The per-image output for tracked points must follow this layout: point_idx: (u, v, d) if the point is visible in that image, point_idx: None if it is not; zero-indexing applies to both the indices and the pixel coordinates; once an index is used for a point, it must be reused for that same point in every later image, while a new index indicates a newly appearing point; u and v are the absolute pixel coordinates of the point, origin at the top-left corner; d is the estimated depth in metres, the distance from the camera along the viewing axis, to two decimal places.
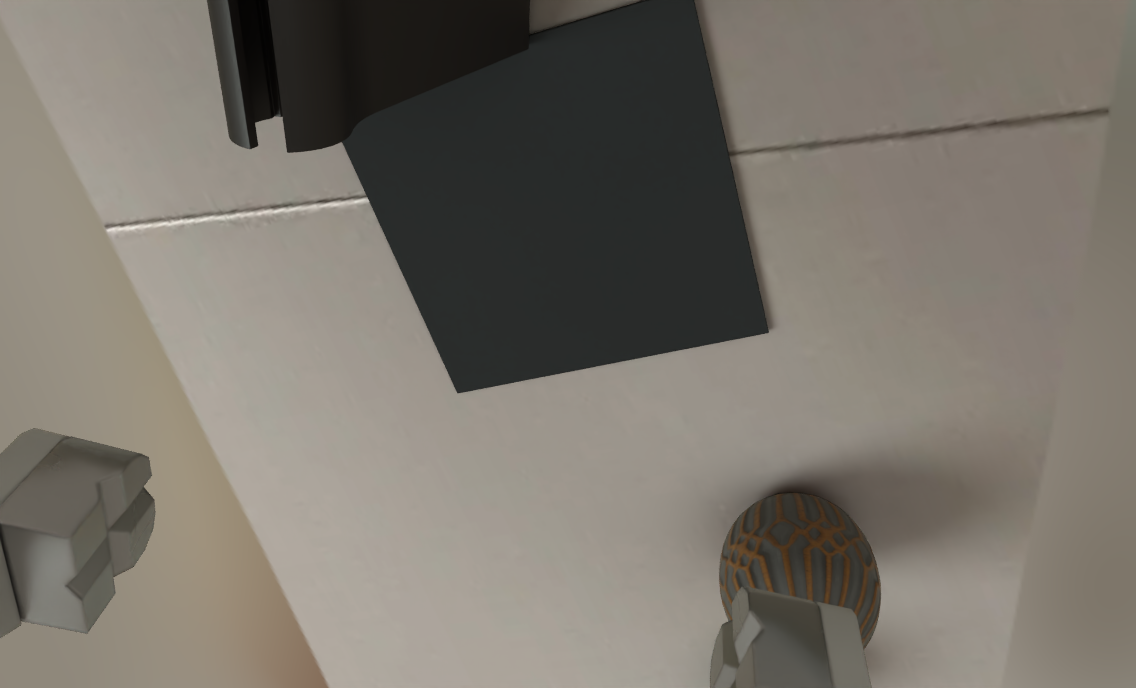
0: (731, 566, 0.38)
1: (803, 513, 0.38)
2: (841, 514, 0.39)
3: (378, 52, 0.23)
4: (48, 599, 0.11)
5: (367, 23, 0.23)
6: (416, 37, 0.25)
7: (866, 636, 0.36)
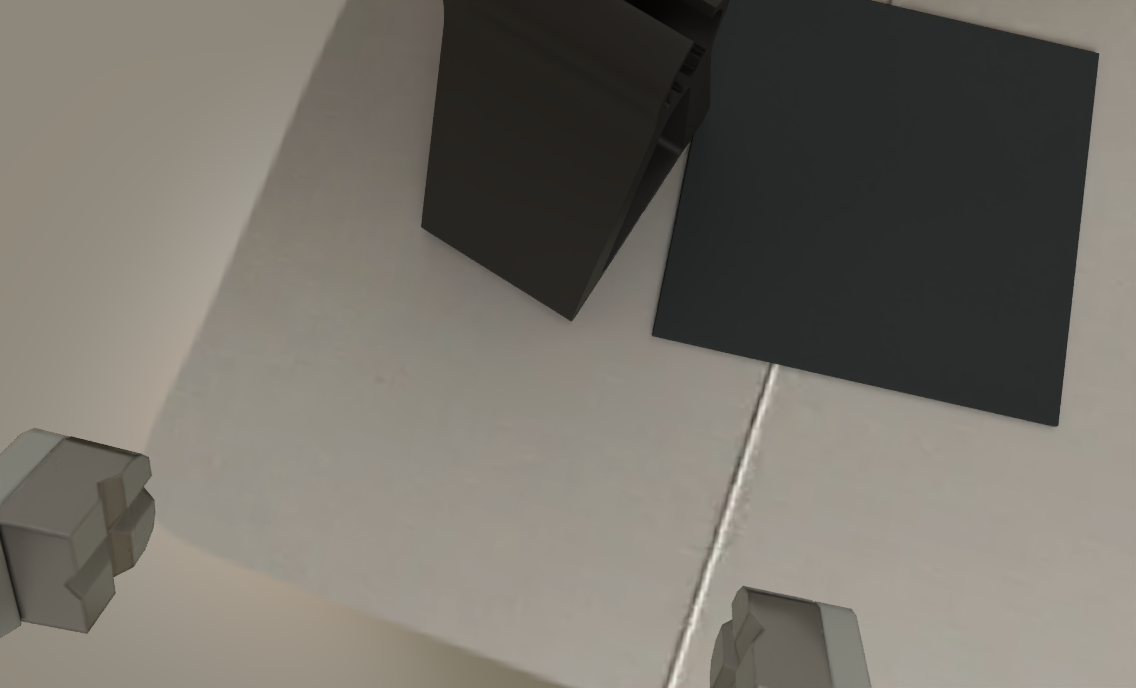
0: None
1: None
2: None
3: None
4: (48, 599, 0.11)
5: None
6: None
7: None
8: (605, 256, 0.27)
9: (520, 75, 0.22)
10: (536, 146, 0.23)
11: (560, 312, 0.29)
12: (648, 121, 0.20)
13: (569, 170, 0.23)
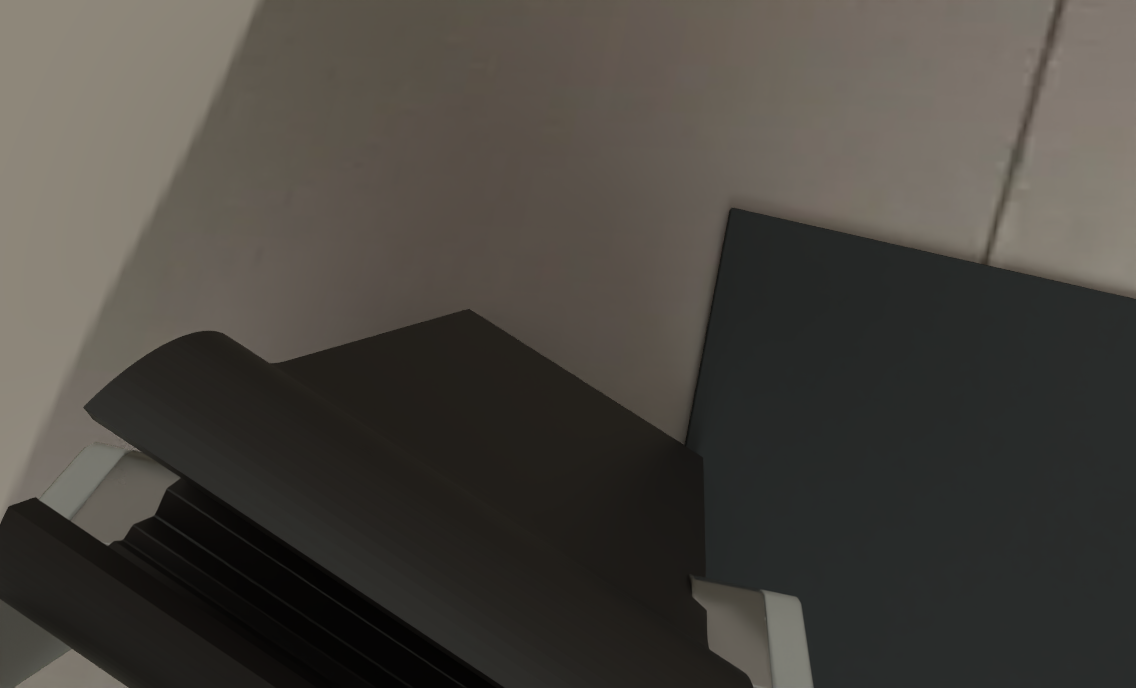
0: None
1: None
2: None
3: (597, 552, 0.11)
4: None
5: (536, 525, 0.10)
6: (607, 506, 0.12)
7: None
8: None
9: None
10: None
11: None
12: None
13: None
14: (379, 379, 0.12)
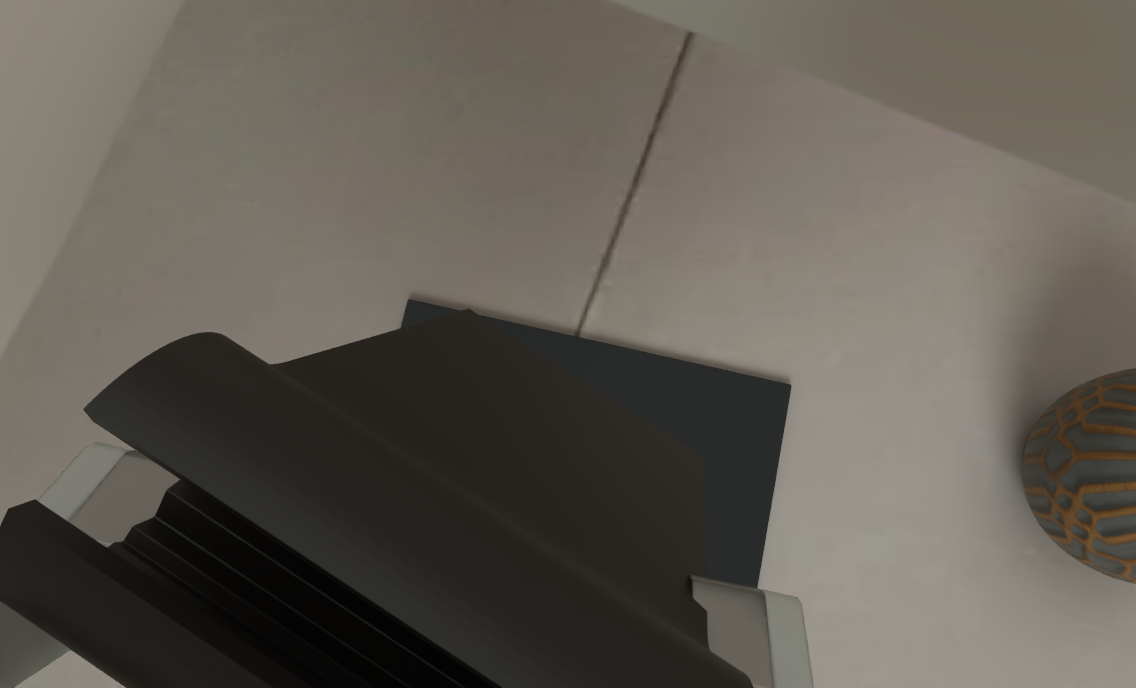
0: (1093, 542, 0.27)
1: (1043, 429, 0.29)
2: (1066, 393, 0.30)
3: (598, 553, 0.11)
4: None
5: (536, 526, 0.10)
6: (608, 507, 0.12)
7: None
8: None
9: None
10: None
11: None
12: None
13: None
14: (378, 379, 0.12)
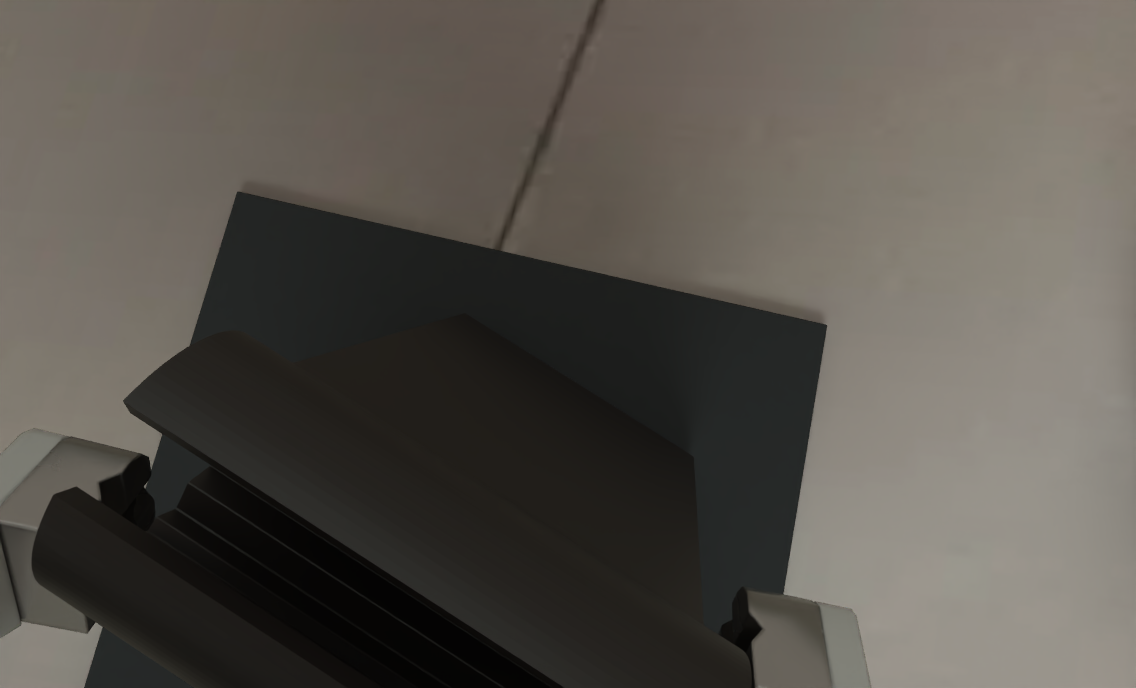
0: None
1: None
2: None
3: (598, 542, 0.11)
4: (48, 599, 0.11)
5: (540, 516, 0.11)
6: (604, 500, 0.13)
7: None
8: None
9: None
10: None
11: None
12: None
13: None
14: (386, 379, 0.12)
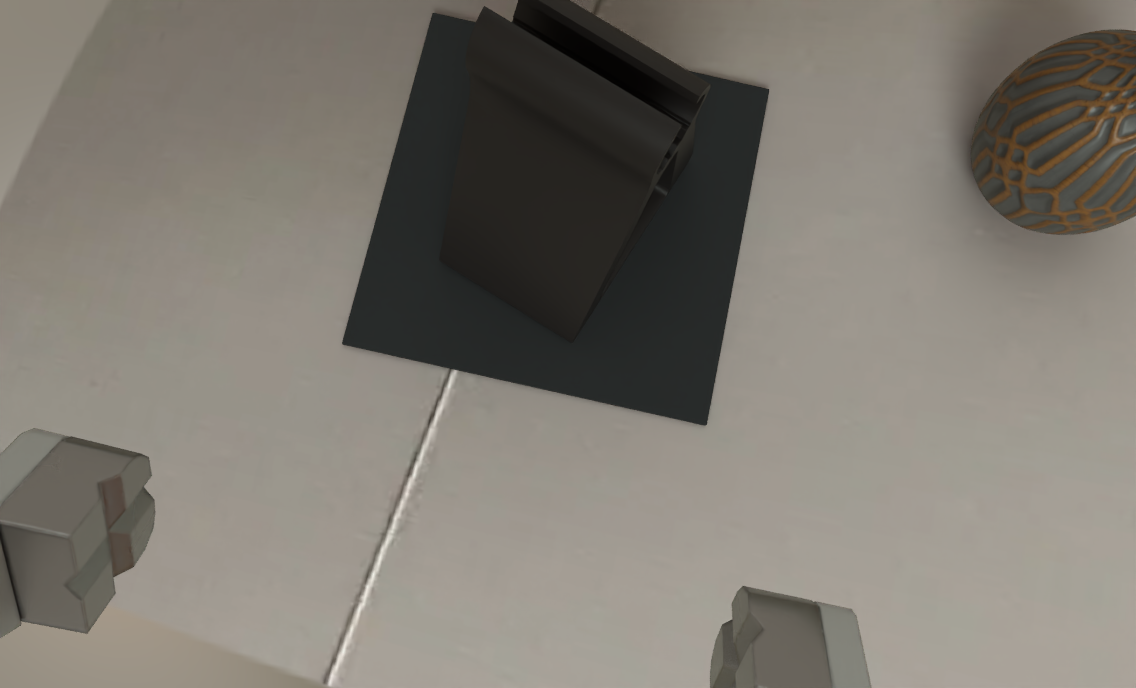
0: (1025, 180, 0.31)
1: (987, 104, 0.33)
2: None
3: None
4: (48, 599, 0.11)
5: None
6: None
7: None
8: (602, 288, 0.31)
9: (534, 141, 0.26)
10: (546, 198, 0.27)
11: (562, 335, 0.33)
12: (643, 184, 0.24)
13: (574, 219, 0.27)
14: None
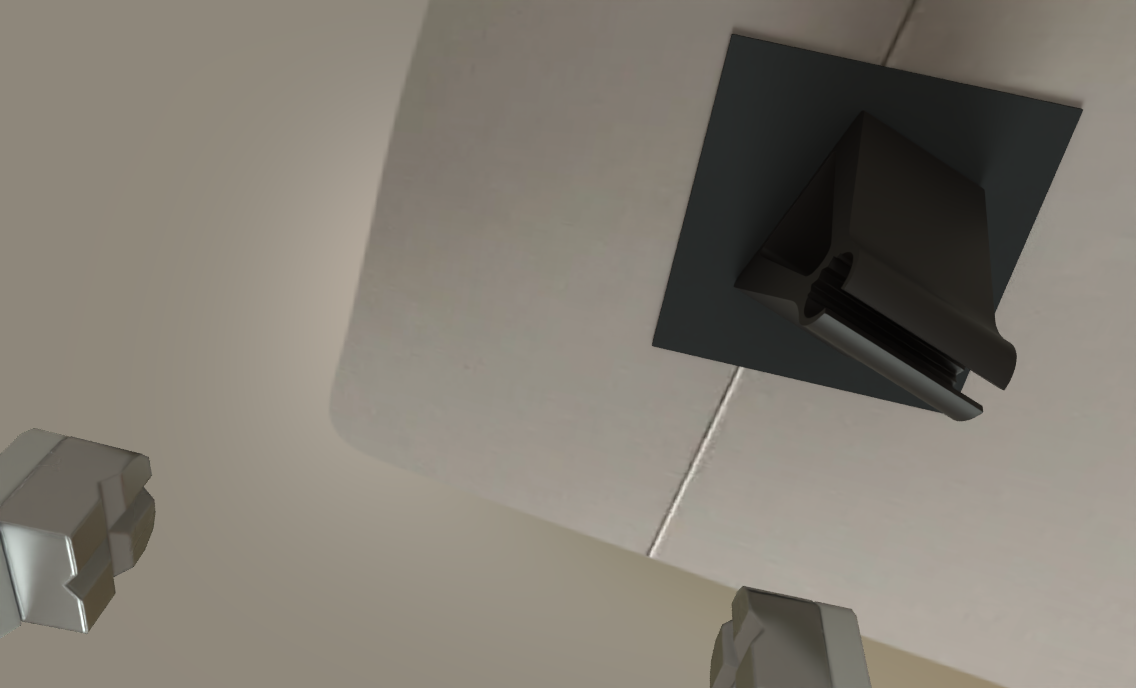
0: None
1: None
2: None
3: (957, 290, 0.29)
4: (48, 599, 0.11)
5: (938, 284, 0.29)
6: (954, 259, 0.31)
7: None
8: None
9: None
10: None
11: None
12: None
13: None
14: (870, 218, 0.30)
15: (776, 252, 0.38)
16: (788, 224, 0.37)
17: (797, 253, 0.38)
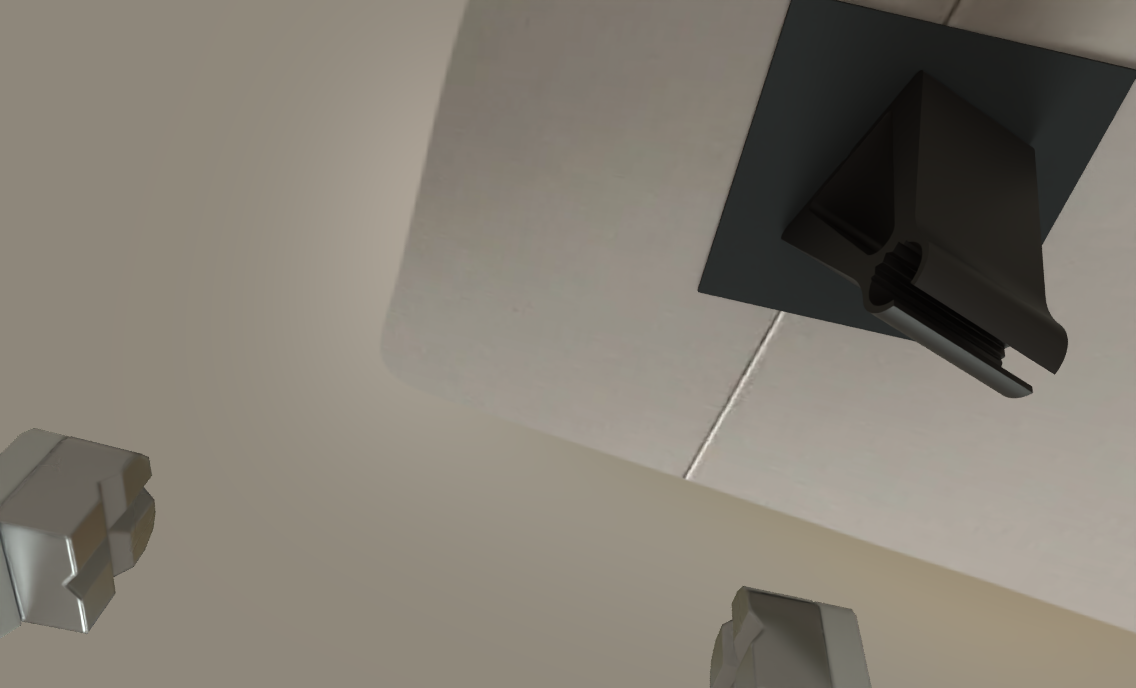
0: None
1: None
2: None
3: (1012, 270, 0.31)
4: (48, 599, 0.11)
5: (995, 266, 0.30)
6: (1009, 235, 0.32)
7: None
8: None
9: None
10: None
11: None
12: None
13: None
14: (934, 198, 0.31)
15: (825, 206, 0.39)
16: (839, 180, 0.38)
17: (846, 207, 0.39)
